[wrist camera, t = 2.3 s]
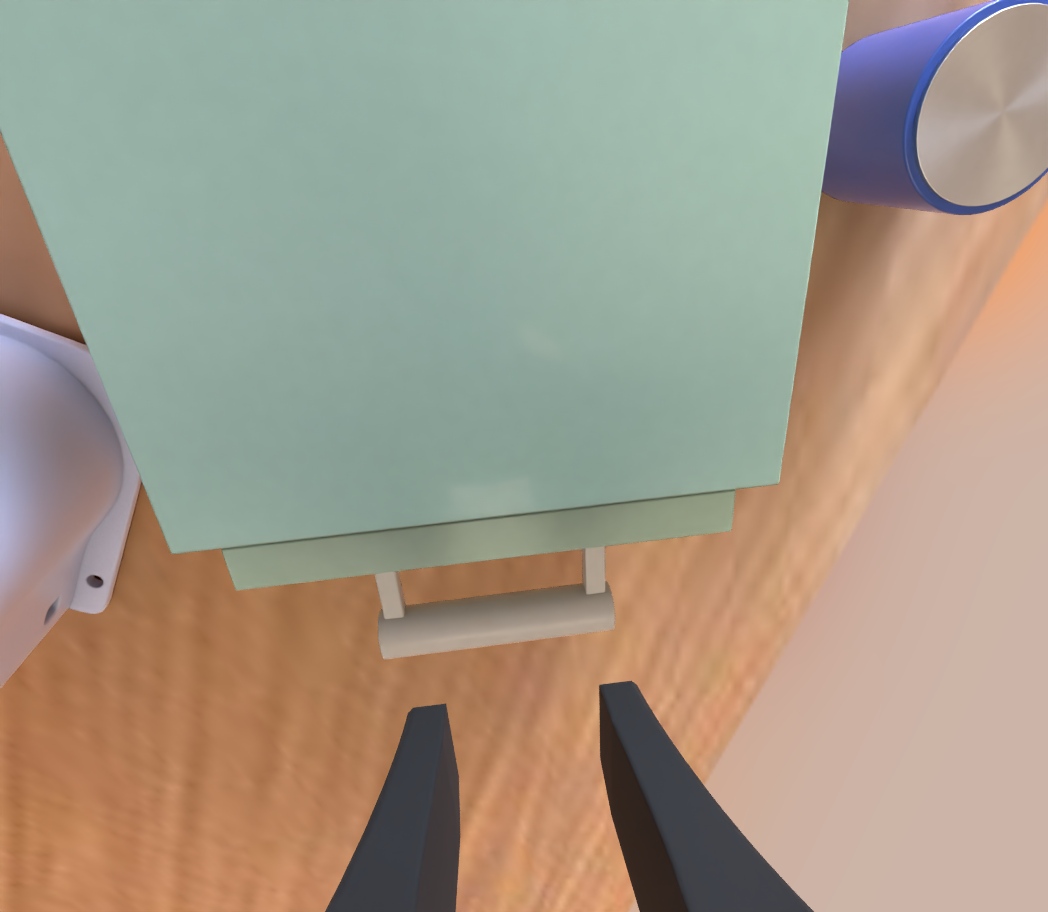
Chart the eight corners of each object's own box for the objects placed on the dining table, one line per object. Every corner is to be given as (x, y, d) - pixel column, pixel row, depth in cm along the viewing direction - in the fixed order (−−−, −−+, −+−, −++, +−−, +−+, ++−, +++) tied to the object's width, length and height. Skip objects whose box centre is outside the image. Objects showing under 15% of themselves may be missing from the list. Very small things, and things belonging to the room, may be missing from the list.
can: (877, 227, 18) (997, 247, 14) (770, 159, 17) (869, 160, 13) (974, 83, 17) (1139, 60, 13) (865, -3, 16) (1009, -57, 12)
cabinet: (673, 378, 20) (780, 485, 13) (264, 420, 19) (169, 556, 13) (703, -225, 13) (934, -570, 7) (87, -205, 13) (-294, -582, 6)
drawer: (656, 554, 22) (716, 671, 17) (323, 595, 21) (284, 730, 16) (683, -86, 14) (814, -221, 9) (143, -59, 13) (-47, -192, 8)
